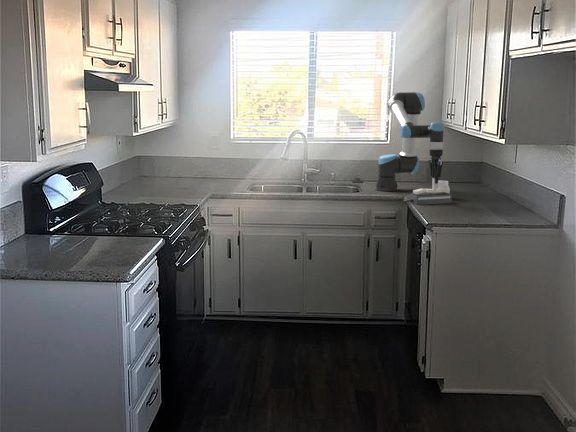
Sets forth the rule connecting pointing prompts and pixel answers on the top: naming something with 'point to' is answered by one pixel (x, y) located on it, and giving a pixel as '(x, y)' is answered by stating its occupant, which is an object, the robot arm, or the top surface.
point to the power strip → (430, 198)
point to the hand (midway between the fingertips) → (435, 188)
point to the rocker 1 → (419, 191)
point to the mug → (443, 185)
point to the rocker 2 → (431, 190)
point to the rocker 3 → (443, 190)
